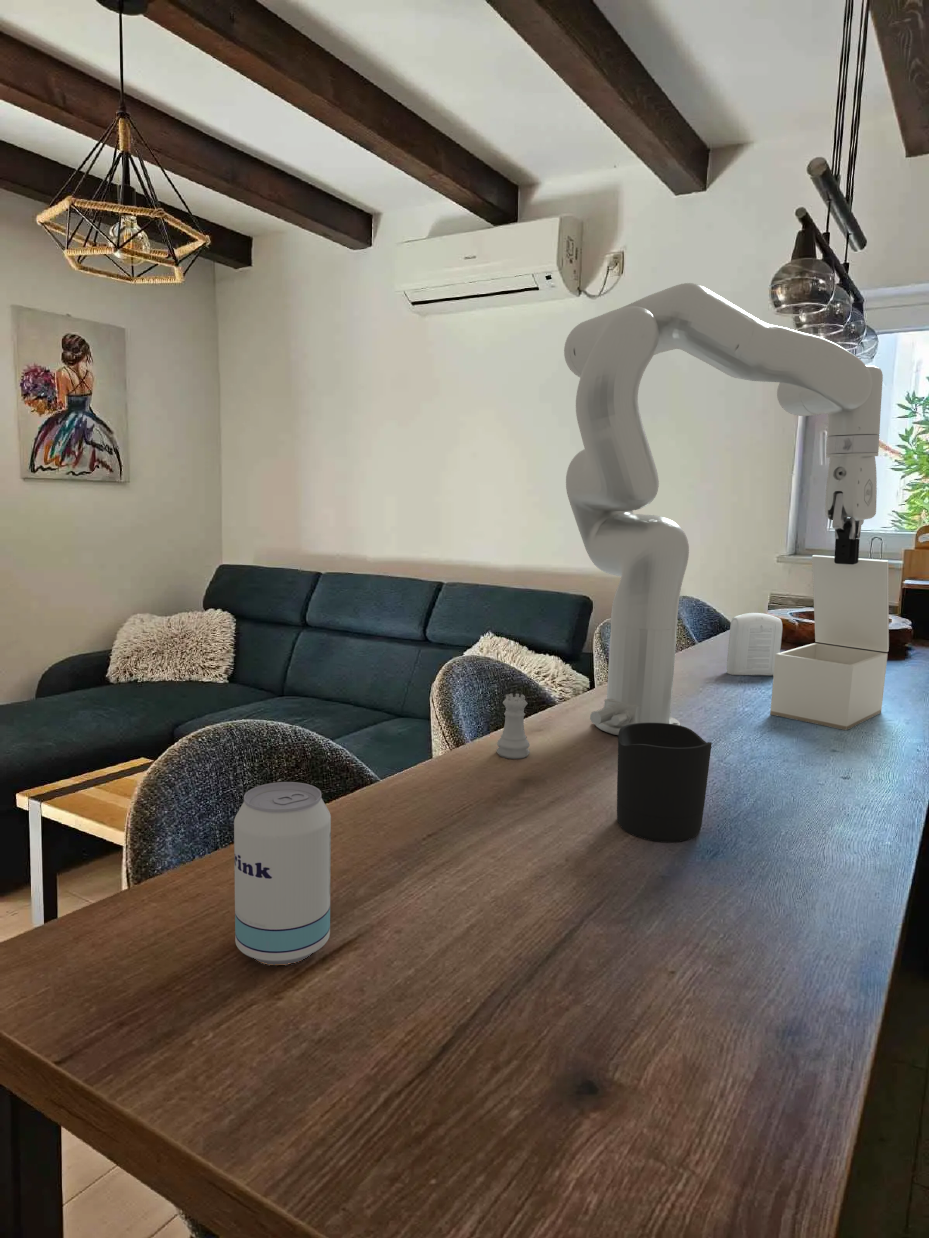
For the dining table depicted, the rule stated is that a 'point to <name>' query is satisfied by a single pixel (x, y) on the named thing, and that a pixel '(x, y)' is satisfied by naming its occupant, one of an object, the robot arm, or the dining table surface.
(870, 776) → the dining table surface
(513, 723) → the rook chess piece
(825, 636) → the carton lid
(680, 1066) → the dining table surface
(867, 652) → the carton
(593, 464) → the robot arm
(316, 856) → the beverage can
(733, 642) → the photo printer
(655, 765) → the pen holder
